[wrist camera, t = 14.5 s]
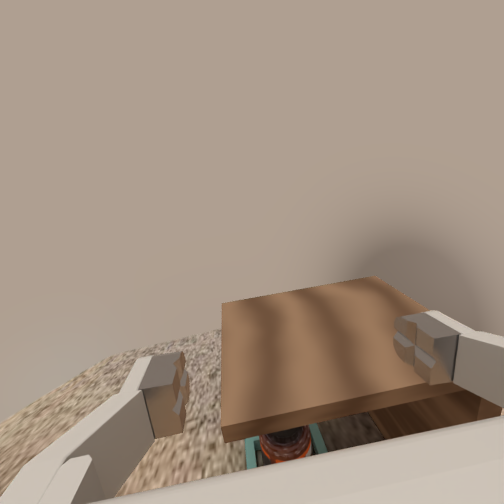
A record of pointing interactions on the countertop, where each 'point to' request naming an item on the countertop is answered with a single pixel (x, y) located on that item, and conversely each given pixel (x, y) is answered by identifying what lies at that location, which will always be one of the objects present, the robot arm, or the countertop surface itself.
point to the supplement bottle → (286, 445)
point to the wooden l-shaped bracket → (330, 364)
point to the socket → (254, 445)
